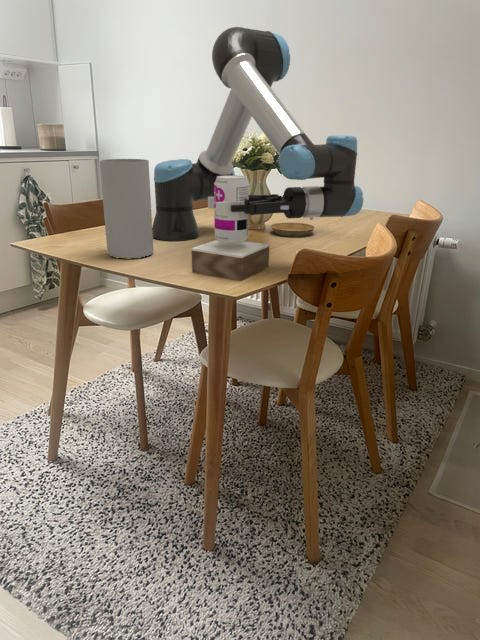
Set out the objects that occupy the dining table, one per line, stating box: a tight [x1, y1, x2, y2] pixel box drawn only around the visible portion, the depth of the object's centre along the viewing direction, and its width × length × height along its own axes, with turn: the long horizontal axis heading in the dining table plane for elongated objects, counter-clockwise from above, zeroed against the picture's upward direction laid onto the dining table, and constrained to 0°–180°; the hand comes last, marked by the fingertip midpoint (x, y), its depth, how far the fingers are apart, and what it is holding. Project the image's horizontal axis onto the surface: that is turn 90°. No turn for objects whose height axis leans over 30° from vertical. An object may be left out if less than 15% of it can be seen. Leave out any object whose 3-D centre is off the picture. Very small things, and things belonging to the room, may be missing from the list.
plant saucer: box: [270, 222, 315, 238], centre depth 170 cm, size 15×15×3 cm
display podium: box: [191, 239, 270, 282], centre depth 126 cm, size 14×14×6 cm
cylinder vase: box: [99, 158, 154, 259], centre depth 136 cm, size 12×12×25 cm
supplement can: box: [213, 174, 250, 243], centre depth 121 cm, size 8×8×15 cm
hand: (212, 205), depth 120 cm, fingers closed on supplement can, 8 cm apart
